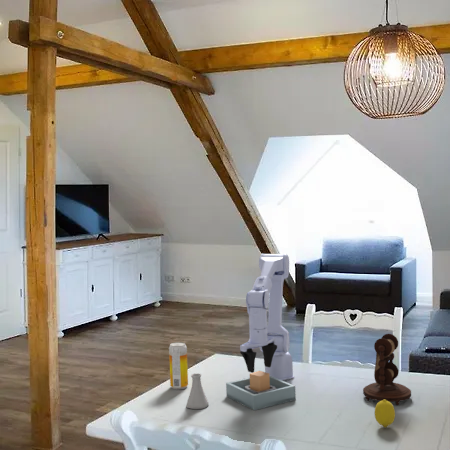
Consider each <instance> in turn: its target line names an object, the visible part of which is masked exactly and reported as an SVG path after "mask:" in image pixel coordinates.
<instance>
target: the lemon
mask: <svg viewBox="0 0 450 450" xmlns="http://www.w3.org/2000/svg"><path fill="white" fill-rule="evenodd" d="M395 417H396V411H395V406H394V405H393V403H392V402H389V401H386V400H385V399H384V400H382V401H378V402H377V403H376V404H375V408H374V418H375V421H376V422H377V424H379V425H381V426H382V427H383V428H387V427H389V426H391V425H392V424H393V423H394V421H395V419H396V418H395Z"/></svg>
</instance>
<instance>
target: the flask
mask: <svg viewBox="0 0 450 450" xmlns="http://www.w3.org/2000/svg"><path fill="white" fill-rule="evenodd" d="M190 376H191V379H192V380H191V381H192V382H191V389H190V392H189V395H188V399H187V402H186V406H185V407H186V408H188V409H191V410H203V409H204V408H207V407H209V401H208V399H207V396H206V393H205V391H204V389H203V386H202V381H201V379H202V378H201V377H202V374H201V373H197V372H196V373H192V374H191V375H190Z"/></svg>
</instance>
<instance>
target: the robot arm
mask: <svg viewBox="0 0 450 450" xmlns="http://www.w3.org/2000/svg"><path fill="white" fill-rule="evenodd" d="M258 266H259V270H260V274H259V275H260V276H257V277H256V279H255V281H254V283H253V285H252V288H251V290H249V291H248V292H246V295H245V304H246V308H247V309H246V310H247V312H246V313H247V314H248V326H249V327H248V328H249V330H248V331H249V339H248V340H247V342H245V343H243V344H240V345H239V346H240V347H239V352H240V354H241V356H242V357H243V359H244V362H245V365H246V369H247V372H249V373H254V372H255V362H256V356H257V352H256V351H254V349H258V348H259V350H260V351H261V352H262V354H263V364H264V372H266V373H269V375H270V376H272V377H275V378H277V379H280V380H282V381H286V380H291V379H294V378H295V376H294V371H293V367H294V365H293V364H294V363H293V357H292V355H291V353H290V352H289V350H290V344H291V343H290V342H291V341H290V332H289V331H288V329H286V328H285V327H284V326H283V325H282V323H283V322H282V321H283V320H282V317H283V293H284V291H283V289H284V288H283V287H284V281H285V280H286V279H287V278H289V274H290V256H289V255H288V254H287V253H261V254H260V256H259V257H258ZM267 309H268V313H267ZM267 316H268V317H267ZM280 334H281V335H280Z"/></svg>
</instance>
